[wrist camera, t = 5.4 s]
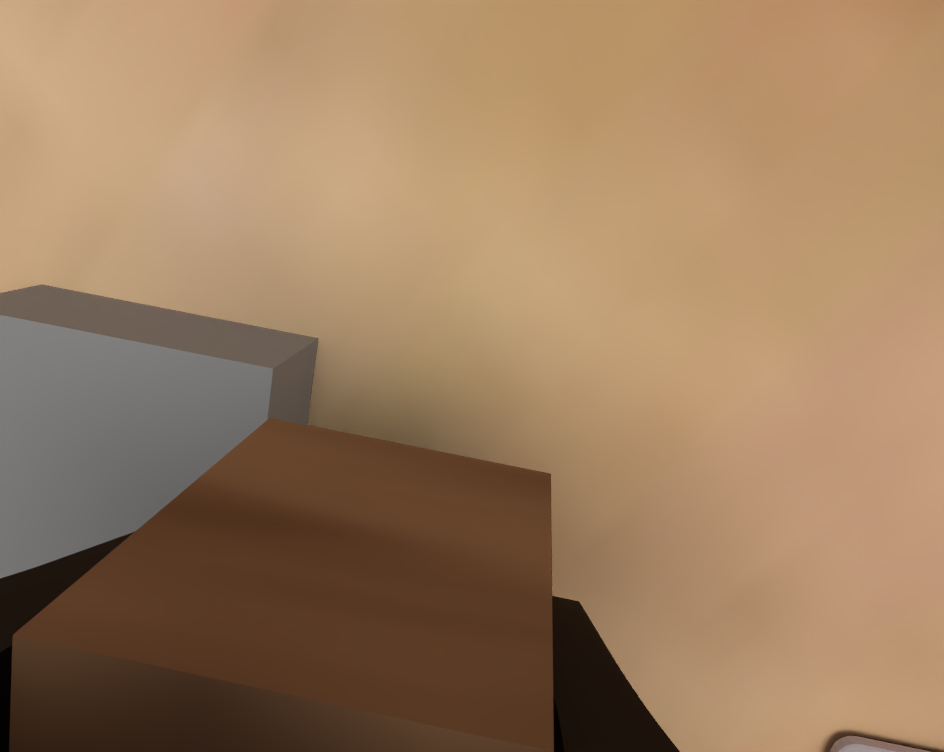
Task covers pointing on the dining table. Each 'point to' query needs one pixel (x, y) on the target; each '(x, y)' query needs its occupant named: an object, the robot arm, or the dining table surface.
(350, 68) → the dining table surface
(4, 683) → the robot arm
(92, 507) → the pedestal block
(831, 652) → the dining table surface
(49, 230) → the dining table surface
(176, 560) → the walnut block
